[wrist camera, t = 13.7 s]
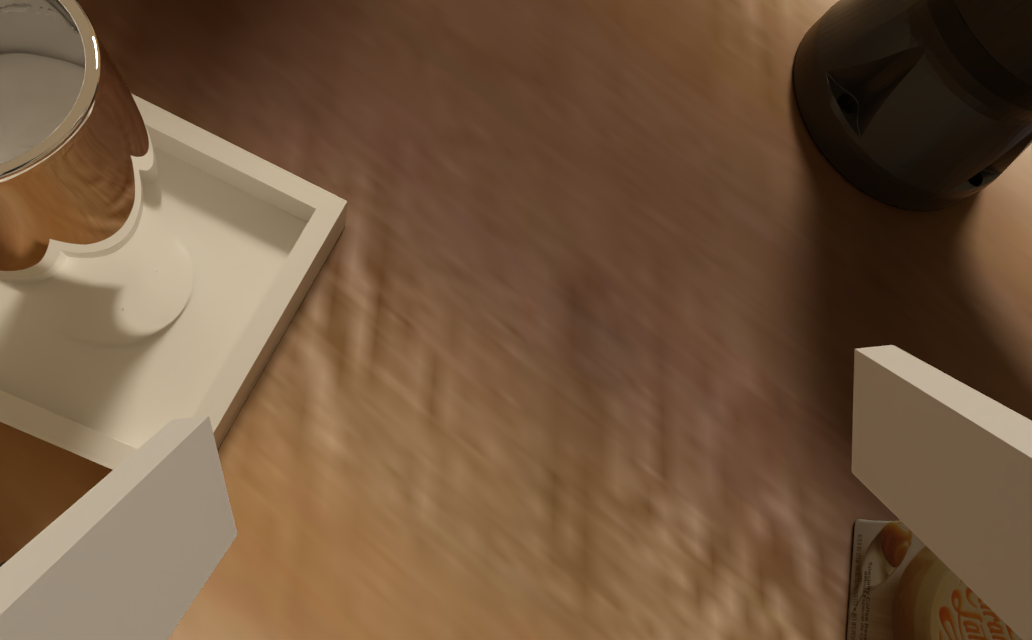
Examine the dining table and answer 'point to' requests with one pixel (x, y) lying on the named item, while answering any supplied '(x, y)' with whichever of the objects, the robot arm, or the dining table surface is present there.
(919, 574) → the coffee box
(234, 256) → the dish
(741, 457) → the dining table surface
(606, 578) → the dining table surface
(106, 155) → the beer glass
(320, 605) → the dining table surface
